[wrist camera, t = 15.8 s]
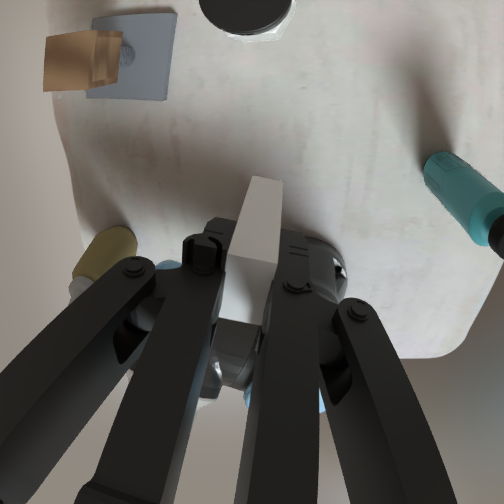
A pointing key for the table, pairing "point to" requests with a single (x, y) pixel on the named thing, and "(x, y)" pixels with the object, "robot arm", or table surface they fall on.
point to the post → (126, 56)
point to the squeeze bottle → (101, 257)
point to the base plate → (140, 55)
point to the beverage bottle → (468, 198)
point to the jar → (250, 17)
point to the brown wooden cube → (81, 60)
